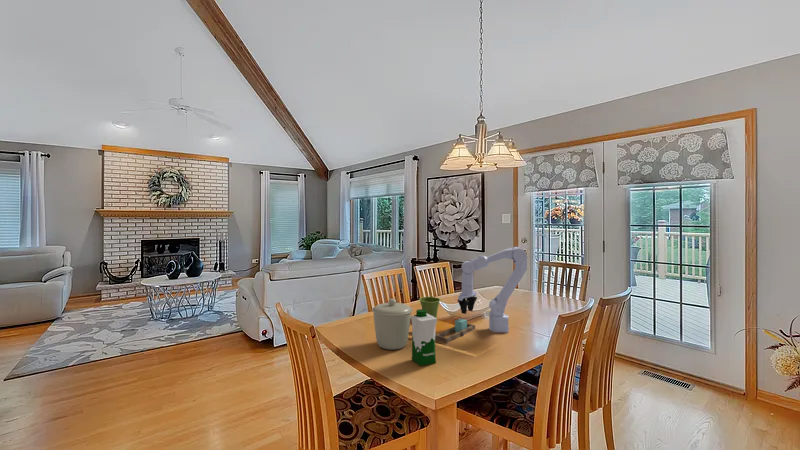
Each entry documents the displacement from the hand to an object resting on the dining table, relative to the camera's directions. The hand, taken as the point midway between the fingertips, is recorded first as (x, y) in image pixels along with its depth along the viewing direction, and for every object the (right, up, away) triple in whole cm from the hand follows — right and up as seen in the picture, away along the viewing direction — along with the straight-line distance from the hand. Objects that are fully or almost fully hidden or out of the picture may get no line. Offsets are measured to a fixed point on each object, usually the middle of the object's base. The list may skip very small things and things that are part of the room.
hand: (467, 312), depth 183 cm
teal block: (-4, -8, -4) cm, 10 cm away
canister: (-37, -10, -21) cm, 44 cm away
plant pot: (-17, -9, +19) cm, 27 cm away
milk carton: (-24, -11, -38) cm, 46 cm away
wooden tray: (-7, -10, -8) cm, 14 cm away
